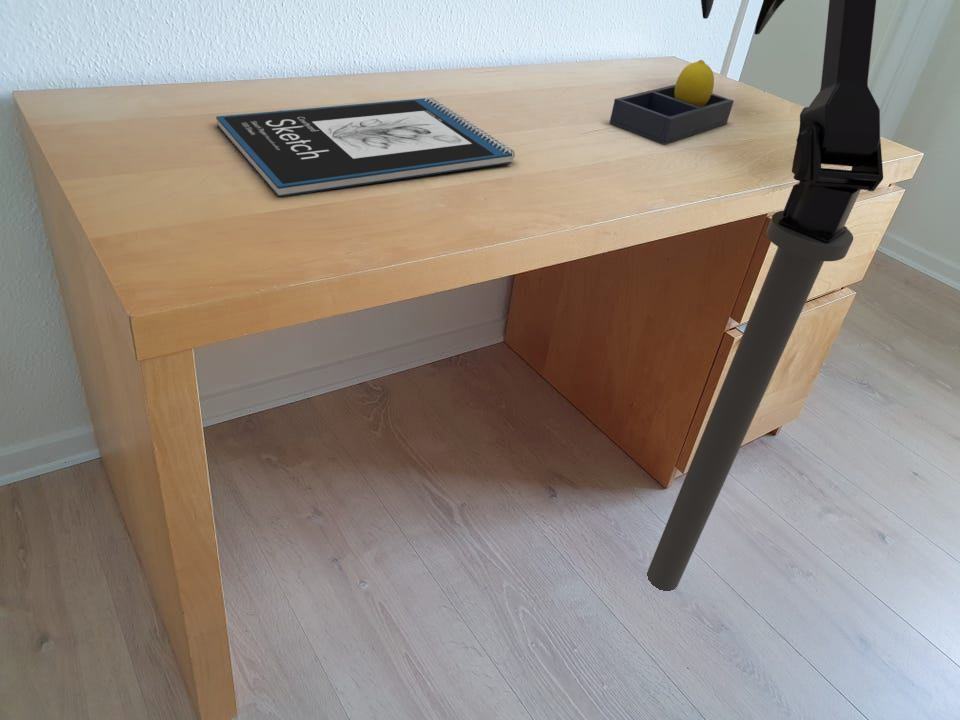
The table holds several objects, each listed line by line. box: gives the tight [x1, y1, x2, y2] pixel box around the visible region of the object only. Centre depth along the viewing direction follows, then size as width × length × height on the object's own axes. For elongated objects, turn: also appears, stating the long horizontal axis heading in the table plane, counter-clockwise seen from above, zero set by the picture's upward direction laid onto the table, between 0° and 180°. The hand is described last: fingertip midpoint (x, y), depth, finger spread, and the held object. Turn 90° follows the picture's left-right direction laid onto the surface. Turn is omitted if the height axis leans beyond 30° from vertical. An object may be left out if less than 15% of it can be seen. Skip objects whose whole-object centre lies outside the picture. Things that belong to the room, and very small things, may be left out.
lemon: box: [674, 59, 715, 107], centre depth 108 cm, size 6×6×8 cm
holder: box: [609, 83, 735, 145], centre depth 107 cm, size 10×18×4 cm, turn 136°
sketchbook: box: [215, 96, 516, 198], centre depth 87 cm, size 22×30×2 cm
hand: (730, 26), depth 113 cm, fingers open, 9 cm apart
